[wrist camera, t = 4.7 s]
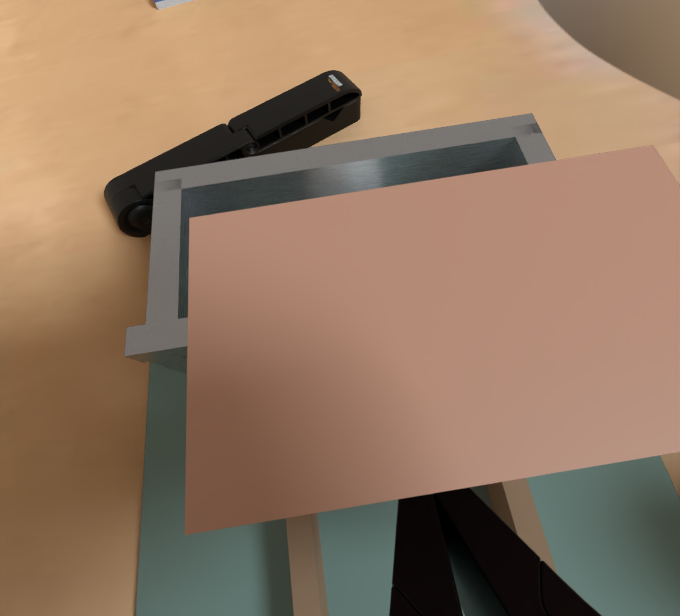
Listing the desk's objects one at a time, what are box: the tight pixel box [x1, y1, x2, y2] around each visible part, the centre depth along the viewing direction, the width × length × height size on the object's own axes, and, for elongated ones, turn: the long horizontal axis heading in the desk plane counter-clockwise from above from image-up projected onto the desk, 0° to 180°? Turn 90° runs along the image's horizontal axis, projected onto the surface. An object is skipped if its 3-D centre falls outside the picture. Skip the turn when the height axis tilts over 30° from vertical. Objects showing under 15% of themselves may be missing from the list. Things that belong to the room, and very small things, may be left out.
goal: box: [124, 113, 556, 375], centre depth 16 cm, size 9×17×7 cm, turn 99°
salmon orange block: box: [185, 145, 680, 535], centre depth 10 cm, size 4×7×13 cm, turn 99°
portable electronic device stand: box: [104, 70, 362, 237], centre depth 22 cm, size 18×3×3 cm, turn 124°
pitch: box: [136, 362, 680, 616], centre depth 15 cm, size 28×24×2 cm
